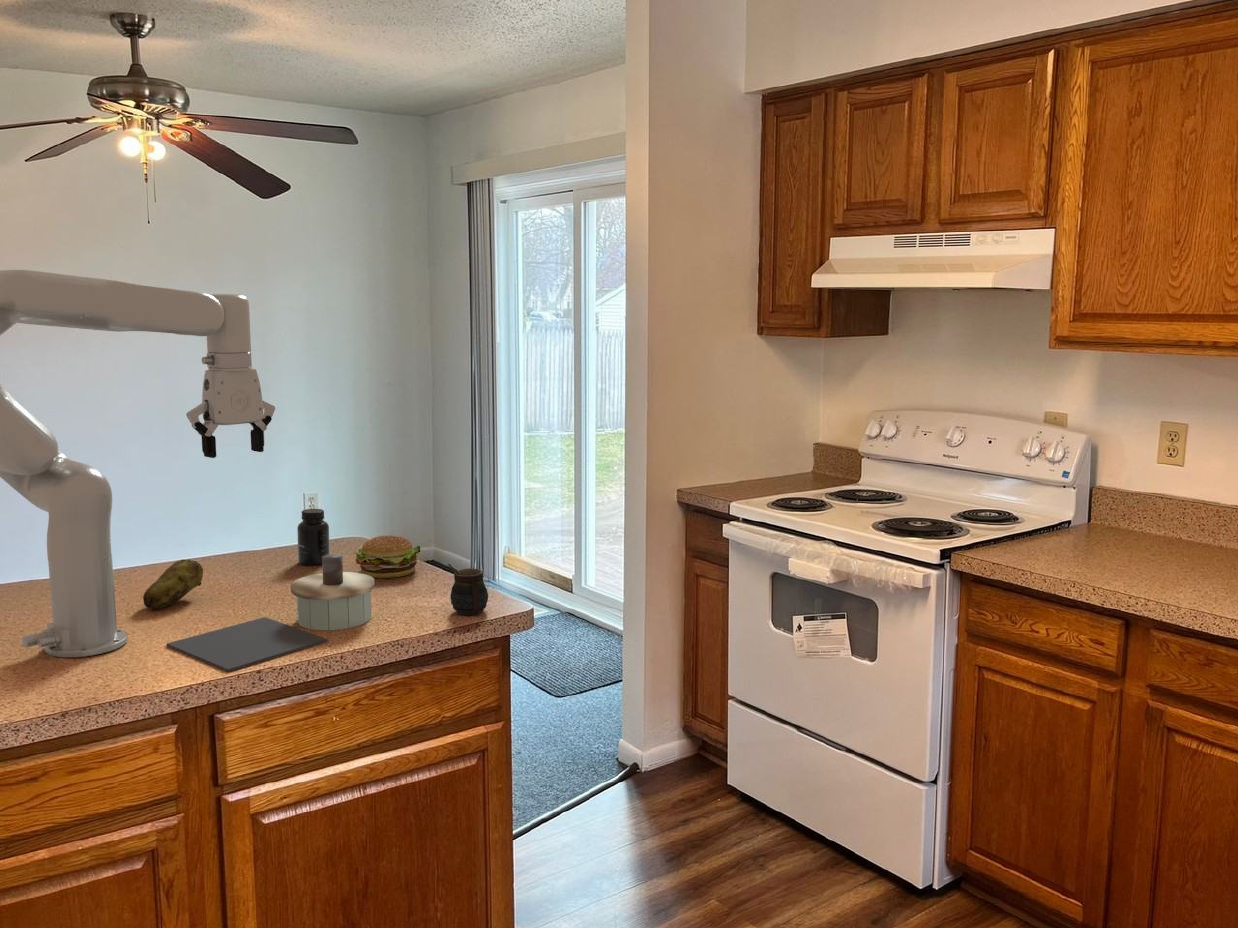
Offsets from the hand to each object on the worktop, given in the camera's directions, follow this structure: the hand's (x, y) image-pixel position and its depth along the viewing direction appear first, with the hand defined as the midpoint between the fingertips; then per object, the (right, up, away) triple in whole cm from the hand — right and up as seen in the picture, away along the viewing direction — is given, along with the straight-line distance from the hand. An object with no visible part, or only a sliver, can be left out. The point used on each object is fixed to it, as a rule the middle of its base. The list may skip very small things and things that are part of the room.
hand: (234, 454), depth 189 cm
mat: (+8, -33, -14) cm, 36 cm away
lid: (+19, -25, -1) cm, 31 cm away
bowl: (+19, -31, 0) cm, 36 cm away
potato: (-15, -29, +9) cm, 34 cm away
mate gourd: (+43, -31, +6) cm, 53 cm away
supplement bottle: (+3, -24, +40) cm, 47 cm away
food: (+21, -26, +33) cm, 47 cm away
